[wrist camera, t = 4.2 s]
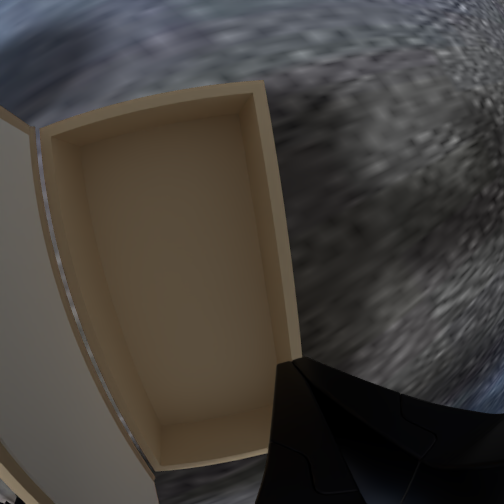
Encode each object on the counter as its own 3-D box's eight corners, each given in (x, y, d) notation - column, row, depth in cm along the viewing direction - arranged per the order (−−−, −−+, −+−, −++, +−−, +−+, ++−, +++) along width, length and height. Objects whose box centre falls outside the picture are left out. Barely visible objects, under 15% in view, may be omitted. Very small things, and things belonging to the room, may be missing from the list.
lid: (191, 598, 5) (178, 600, 5) (154, 473, 13) (144, 475, 13) (-86, 36, 1) (-106, 54, 1) (36, 128, 9) (24, 133, 9)
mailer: (290, 400, 18) (310, 440, 15) (157, 427, 17) (155, 471, 13) (247, 105, 14) (266, 79, 10) (73, 141, 13) (39, 128, 9)
